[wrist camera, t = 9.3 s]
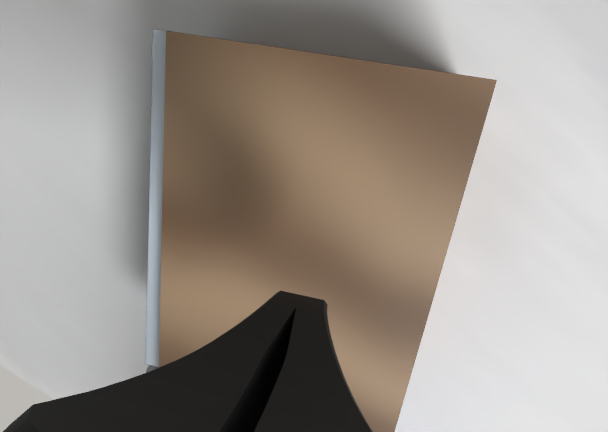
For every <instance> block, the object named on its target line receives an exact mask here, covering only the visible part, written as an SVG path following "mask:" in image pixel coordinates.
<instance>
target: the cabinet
mask: <svg viewBox="0 0 608 432" xmlns="http://www.w3.org/2000/svg"><path fill="white" fill-rule="evenodd" d="M496 81H497V80H492V79H486V78H479V77H472V76H466V75H459V74H452V73H446V72H439V71H432V70H425V69H419V68H412V67H405V66H399V65H392V64H385V63H379V62H372V61H365V60H358V59H352V58H345V57H338V56H332V55H325V54H318V53H312V52H305V51H298V50H291V49H285V48H278V47H271V46H265V45H258V44H251V43H245V42H238V41H231V40H224V39H218V38H211V37H204V36H198V35H191V34H184V33H178V32H171V31H166V54H165V101H164V149H163V197H162V244H161V292H160V339H159V367H161V366H164V365H166V364H169V363H171V362H173V361H176V360H178V359H180V358H182V357H184V356H186V355H188V354H190V353H192V352H194V351H196V350H198V349H200V348H201V347H203V346H205V345H207V344H208V343H210V342H212V341H213V340H215V339H216V338H218V337H219V336H221V335H222V334H224V333H225V332H227V331H228V330H230V329H232V328H233V327H234V326H236V325H237V324H239V323H240V322H241V321H243V320H244V319H245V318H247V317H248V316H249V315H251V314H252V313H253V312H254V311H256V310H257V309H258V308H259V307H261V306H262V305H263V304H264V303H265V302H267V301H268V300H269V299H270V298H271V297H272V296H274V295H275V294H276V293H277V292H279V291H285V292H290V293H294V294H299V295H303V296H308V297H313V298H317V299H322V300H325V302H326V303H327V305H328V306H327V317H328V324H329V329H330V334H331V338H332V341H333V345H334V349H335V352H336V355H337V358H338V361H339V364H340V367H341V369H342V372H343V375H344V377H345V380H346V382H347V384H348V386H349V389H350V391H351V393H352V395H353V397H354V399H355V401H356V403H357V405H358V407H359V409H360V411H361V412H362V414H363V416H364V418H365V420H366V422H367V423H368V425H369V426H370V428H371V429H372V431H373V432H394V431H395V428H396V424H397V421H398V417H399V414H400V410H401V407H402V404H403V400H404V397H405V393H406V390H407V386H408V383H409V380H410V376H411V373H412V369H413V366H414V362H415V359H416V356H417V352H418V349H419V345H420V342H421V338H422V335H423V332H424V328H425V325H426V321H427V318H428V314H429V311H430V308H431V304H432V301H433V297H434V294H435V290H436V287H437V283H438V280H439V277H440V273H441V270H442V266H443V263H444V259H445V256H446V253H447V249H448V246H449V242H450V239H451V235H452V232H453V229H454V225H455V222H456V218H457V215H458V211H459V208H460V205H461V201H462V198H463V194H464V191H465V187H466V184H467V181H468V177H469V174H470V170H471V167H472V163H473V160H474V156H475V153H476V150H477V146H478V143H479V139H480V136H481V132H482V129H483V126H484V122H485V119H486V115H487V112H488V108H489V105H490V102H491V98H492V95H493V91H494V88H495V84H496Z"/></svg>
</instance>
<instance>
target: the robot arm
mask: <svg viewBox="0 0 608 432" xmlns="http://www.w3.org/2000/svg"><path fill="white" fill-rule="evenodd" d="M327 306H328V305H327V303H326V302H325V300H322V299H317V298H313V297H308V296H303V295H299V294H294V293H290V292H285V291H279V292H277V293H276V294H275V295H274V296H272V297H271V298H270V299H269V300H268V301H267V302H265V303H264V304H263V305H262V306H261V307H259V308H258V309H257V310H256V311H254V312H253V313H252V314H251V315H249V316H248V317H247V318H245V319H244V320H243V321H241V322H240V323H239V324H237V325H236V326H234V327H233V328H232V329H230V330H228V331H227V332H225V333H224V334H222V335H221V336H219V337H218V338H216V339H215V340H213V341H212V342H210V343H208V344H207V345H205V346H203V347H201V348H200V349H198V350H196V351H194V352H192V353H190V354H188V355H186V356H184V357H182V358H180V359H178V360H176V361H173V362H171V363H169V364H166V365H164V366H161V367H159V368H157V369H154V370H152V371H150V372H147V373H145V374H142V375H139V376H137V377H134V378H131V379H128V380H125V381H122V382H119V383H116V384H113V385H109V386H106V387H103V388H100V389H96V390H92V391H89V392H85V393H81V394H77V395H73V396H68V397H64V398H60V399H56V400H52V401H48V402H43V403H38V404H34V405H32V406H31V407H30V408H29V409H28V410H27V411H25V412H24V413H23V414H22V415H21V416H20V417H18V418H17V419H16V420H15V421H14V422H13V423H11V424H10V425H9V426H8V427H7V429H5V430H4V431H3V432H373V431H372V429H371V428H370V426H369V425H368V423H367V422H366V420H365V418H364V416H363V414H362V412H361V411H360V409H359V407H358V405H357V403H356V401H355V399H354V397H353V395H352V393H351V391H350V389H349V386H348V384H347V382H346V380H345V377H344V375H343V372H342V369H341V367H340V364H339V361H338V358H337V355H336V352H335V349H334V345H333V341H332V338H331V334H330V329H329V324H328V317H327Z"/></svg>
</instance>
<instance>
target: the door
mask: <svg viewBox="0 0 608 432" xmlns="http://www.w3.org/2000/svg"><path fill="white" fill-rule="evenodd" d="M165 54H166V31H162V30H156V29H153V43H152V58H153V60H152V104H151V148H150V192H149V236H148V280H147V324H146V364H148V365H150V366H149V367H148V368H147V371H146V372H150V371H152V370H154V369H157V368H159V339H160V292H161V244H162V197H163V149H164V101H165Z"/></svg>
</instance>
